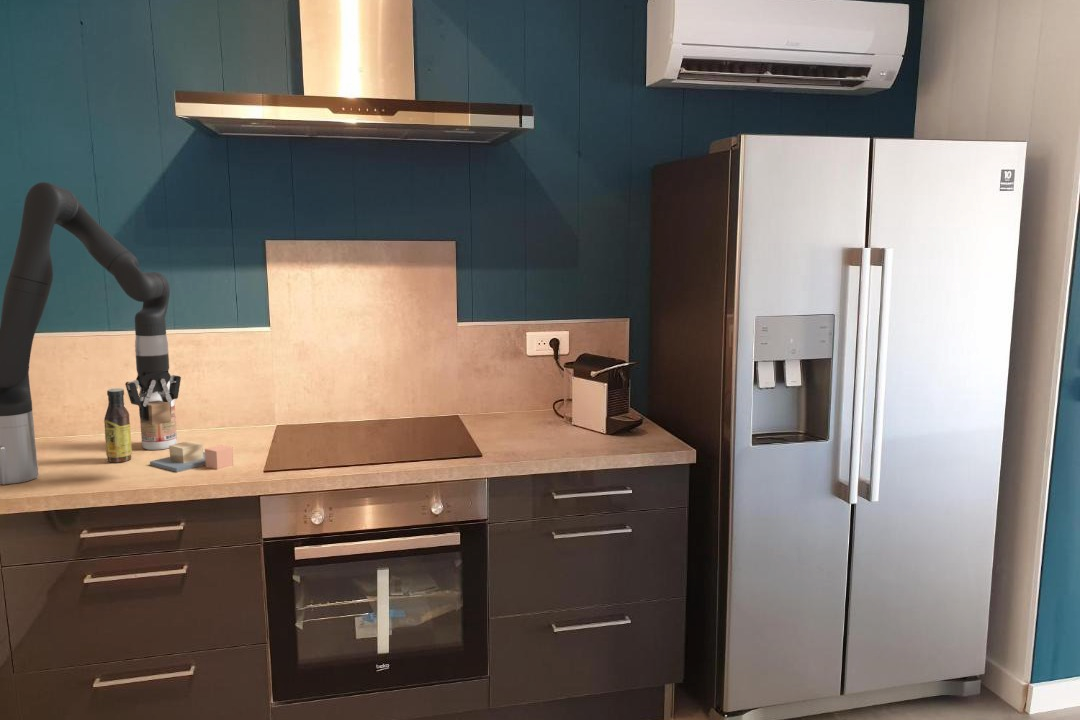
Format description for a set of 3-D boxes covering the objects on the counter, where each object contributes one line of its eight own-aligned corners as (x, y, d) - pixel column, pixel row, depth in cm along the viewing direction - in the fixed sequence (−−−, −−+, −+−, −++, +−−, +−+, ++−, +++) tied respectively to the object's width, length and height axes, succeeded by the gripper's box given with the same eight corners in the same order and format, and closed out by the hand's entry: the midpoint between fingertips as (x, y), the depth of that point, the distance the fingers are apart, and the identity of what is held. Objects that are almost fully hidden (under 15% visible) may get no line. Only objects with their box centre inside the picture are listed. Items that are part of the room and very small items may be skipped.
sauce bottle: (103, 460, 228) (98, 389, 225) (127, 456, 233) (122, 386, 230) (111, 465, 224) (106, 392, 221) (136, 460, 228) (131, 389, 225)
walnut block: (152, 425, 209) (151, 405, 208) (140, 422, 211) (140, 403, 211) (170, 422, 213) (170, 402, 212) (159, 419, 216) (158, 400, 215)
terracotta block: (217, 469, 220) (216, 451, 219) (205, 466, 223) (204, 448, 222) (233, 465, 224) (232, 447, 223) (221, 462, 227) (220, 444, 226)
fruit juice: (140, 451, 237) (133, 354, 233) (143, 443, 246) (137, 350, 242) (176, 448, 240) (170, 352, 236) (178, 441, 249) (172, 348, 245)
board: (176, 472, 217) (176, 468, 217) (150, 465, 224) (149, 461, 224) (223, 460, 229) (223, 456, 229) (196, 453, 235) (196, 450, 235)
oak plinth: (183, 463, 222) (182, 448, 221) (170, 459, 225) (169, 445, 225) (203, 458, 227) (202, 443, 226) (190, 454, 230) (189, 440, 230)
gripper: (133, 357, 202) (137, 425, 204) (186, 350, 213) (190, 415, 216) (116, 354, 206) (120, 421, 208) (169, 348, 217) (173, 412, 220)
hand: (155, 418), depth 212 cm, fingers closed on walnut block, 5 cm apart
